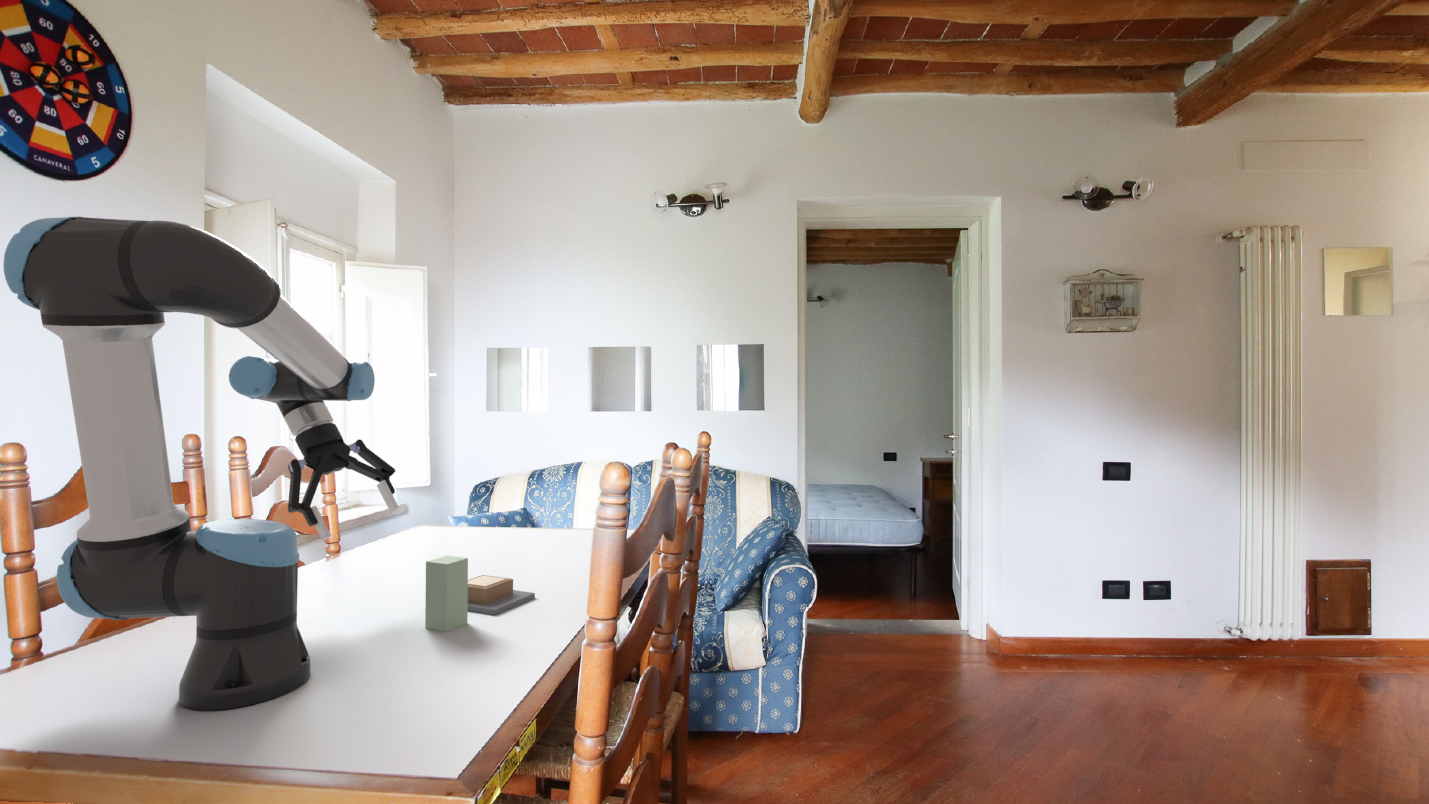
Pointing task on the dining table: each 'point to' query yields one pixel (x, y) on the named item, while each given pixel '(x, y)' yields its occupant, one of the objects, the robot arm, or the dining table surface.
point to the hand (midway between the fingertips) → (362, 524)
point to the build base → (501, 603)
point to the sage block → (446, 593)
